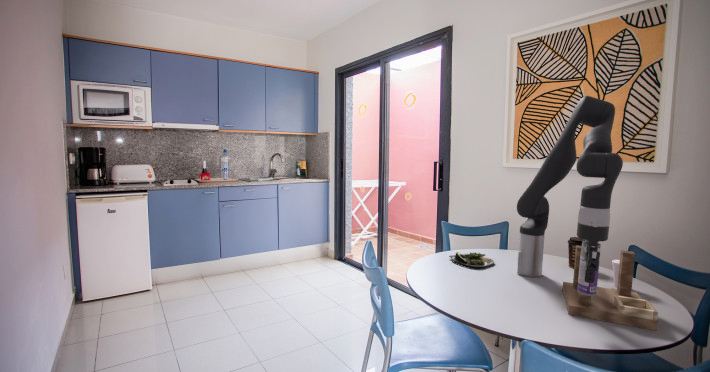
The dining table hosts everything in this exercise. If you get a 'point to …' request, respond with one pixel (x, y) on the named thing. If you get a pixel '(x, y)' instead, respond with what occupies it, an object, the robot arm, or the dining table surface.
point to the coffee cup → (573, 249)
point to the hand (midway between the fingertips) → (587, 279)
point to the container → (583, 286)
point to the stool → (611, 298)
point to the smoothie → (615, 271)
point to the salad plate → (472, 260)
